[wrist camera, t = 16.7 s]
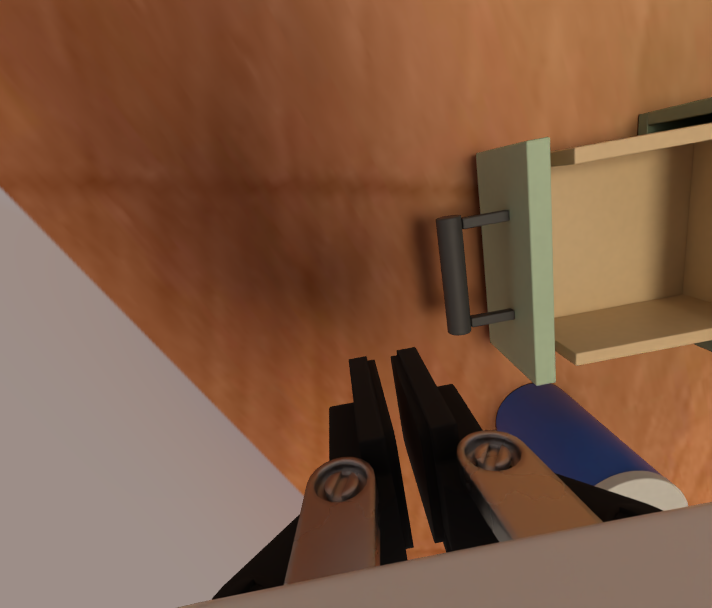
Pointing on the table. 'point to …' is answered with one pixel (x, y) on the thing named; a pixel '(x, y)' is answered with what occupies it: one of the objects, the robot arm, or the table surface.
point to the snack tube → (582, 446)
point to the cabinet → (675, 119)
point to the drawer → (588, 249)
